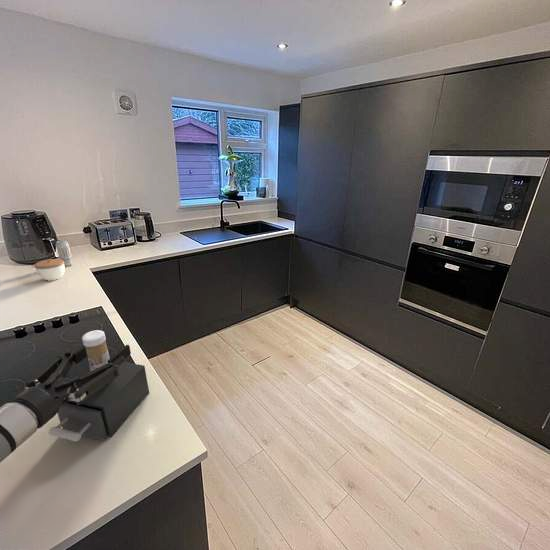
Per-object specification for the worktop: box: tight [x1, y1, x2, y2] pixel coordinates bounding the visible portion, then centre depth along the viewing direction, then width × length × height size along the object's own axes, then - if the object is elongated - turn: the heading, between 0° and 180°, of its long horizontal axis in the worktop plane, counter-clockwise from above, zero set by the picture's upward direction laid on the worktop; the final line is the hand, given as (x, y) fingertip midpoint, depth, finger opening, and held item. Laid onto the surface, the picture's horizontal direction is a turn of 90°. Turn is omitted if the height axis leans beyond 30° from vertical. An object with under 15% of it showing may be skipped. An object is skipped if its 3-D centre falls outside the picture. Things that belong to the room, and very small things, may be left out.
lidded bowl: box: [33, 258, 66, 282], centre depth 154 cm, size 13×13×11 cm
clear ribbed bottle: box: [55, 239, 74, 267], centre depth 172 cm, size 6×6×15 cm
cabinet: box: [67, 361, 150, 438], centre depth 74 cm, size 15×13×10 cm
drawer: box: [48, 402, 107, 442], centre depth 70 cm, size 18×11×8 cm, turn 167°
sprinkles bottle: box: [81, 329, 111, 371], centre depth 70 cm, size 5×5×14 cm
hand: (112, 346), depth 74 cm, fingers open, 9 cm apart
